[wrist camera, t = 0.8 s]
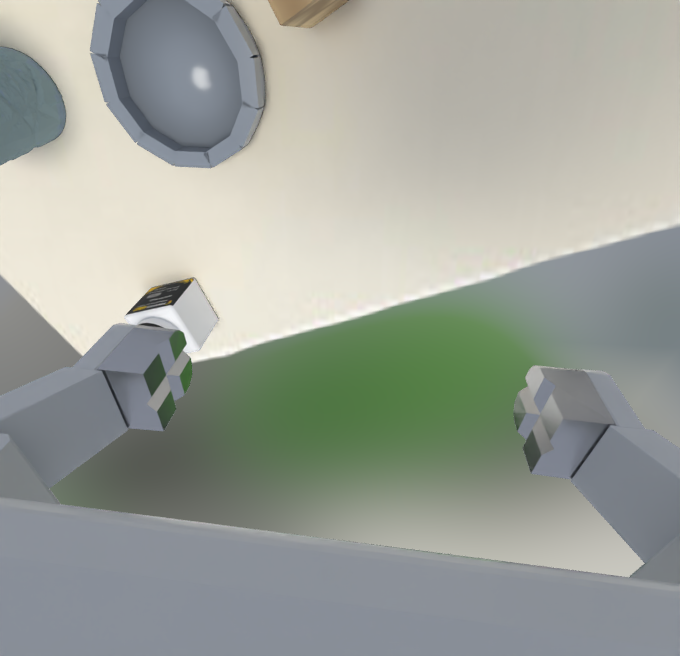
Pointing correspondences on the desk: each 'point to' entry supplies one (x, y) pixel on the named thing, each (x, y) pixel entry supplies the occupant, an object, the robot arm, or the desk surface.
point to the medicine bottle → (176, 311)
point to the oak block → (304, 11)
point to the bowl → (179, 76)
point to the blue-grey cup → (26, 106)
